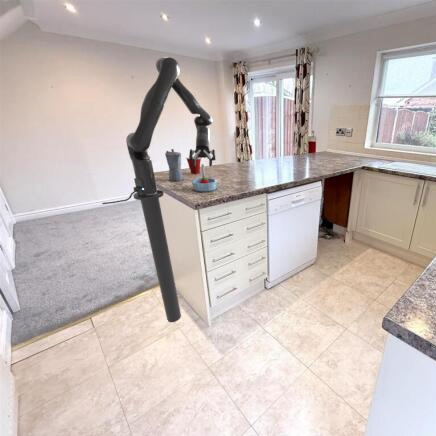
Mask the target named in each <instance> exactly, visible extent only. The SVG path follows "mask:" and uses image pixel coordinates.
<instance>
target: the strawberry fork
mask: <svg viewBox="0 0 436 436" xmlns="http://www.w3.org/2000/svg"><path fill="white" fill-rule="evenodd" d="M200 167H201V174H202V175H201V176H202V177H200V178H201V181H200V183H201V184H203V183H209V181H208V180H207V178H208V177H206V172H205V171H206V170H205V165H204V164H203V163H201V164H200Z"/></svg>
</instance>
